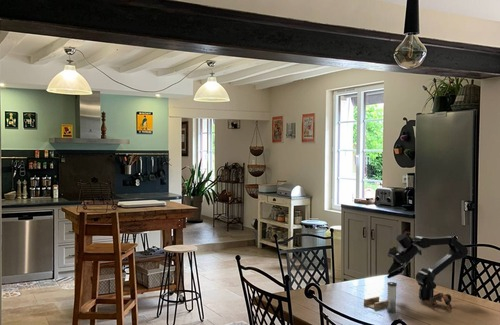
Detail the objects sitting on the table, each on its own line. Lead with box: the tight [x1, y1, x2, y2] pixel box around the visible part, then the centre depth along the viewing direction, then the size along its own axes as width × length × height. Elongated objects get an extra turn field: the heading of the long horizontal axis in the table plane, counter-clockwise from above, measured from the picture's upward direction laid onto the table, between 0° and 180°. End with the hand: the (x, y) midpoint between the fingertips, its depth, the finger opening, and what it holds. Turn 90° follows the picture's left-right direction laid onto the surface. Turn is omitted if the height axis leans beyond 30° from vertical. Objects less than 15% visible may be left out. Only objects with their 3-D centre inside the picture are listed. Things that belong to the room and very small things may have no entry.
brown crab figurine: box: [429, 292, 453, 311], centre depth 251 cm, size 12×10×8 cm
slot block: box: [363, 296, 387, 310], centre depth 250 cm, size 10×8×3 cm
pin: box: [386, 281, 398, 314], centre depth 241 cm, size 4×4×14 cm
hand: (388, 275), depth 258 cm, fingers open, 9 cm apart
